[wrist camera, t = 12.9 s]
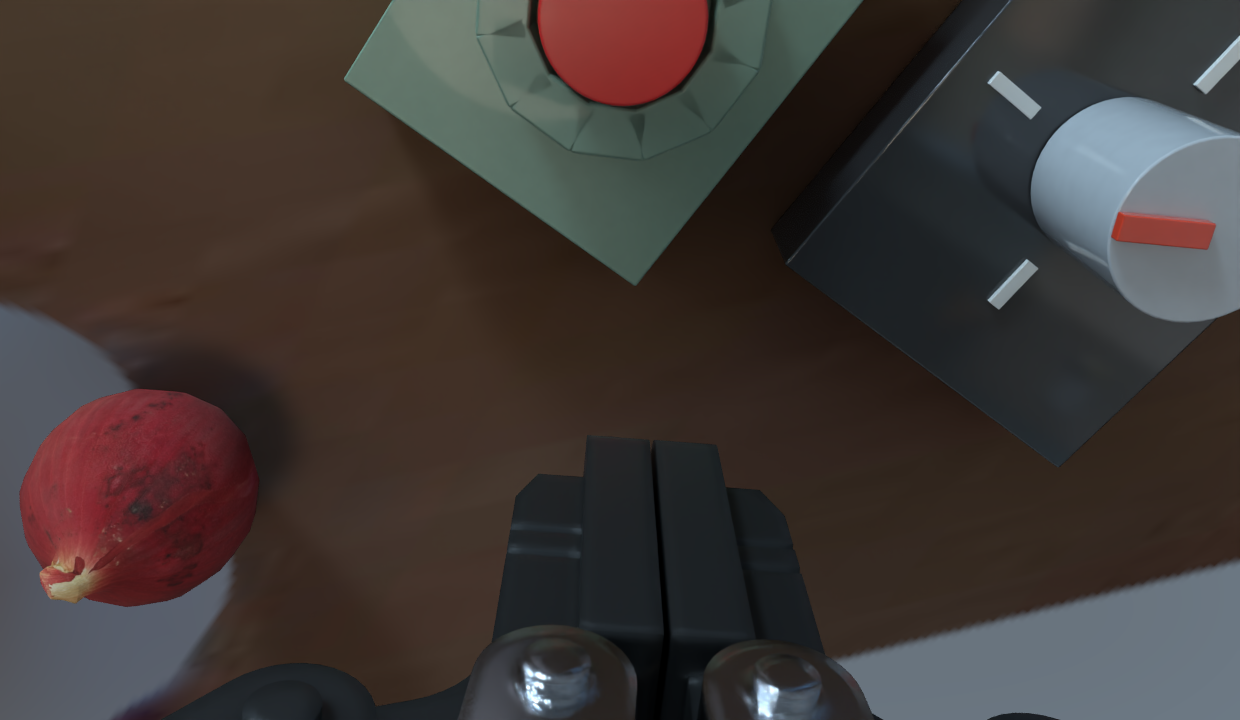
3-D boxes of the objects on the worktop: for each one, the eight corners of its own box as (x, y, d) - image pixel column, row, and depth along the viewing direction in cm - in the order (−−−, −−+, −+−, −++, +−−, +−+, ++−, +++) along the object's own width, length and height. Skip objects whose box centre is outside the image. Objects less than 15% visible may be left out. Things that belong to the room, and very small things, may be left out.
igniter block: (635, 261, 29) (635, 311, 26) (363, 67, 27) (322, 92, 23) (899, -75, 26) (943, -71, 22) (609, -329, 24) (607, -372, 20)
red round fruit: (197, 309, 30) (57, 439, 23) (330, 449, 32) (241, 612, 25) (62, 412, 31) (-110, 566, 24) (197, 541, 33) (75, 720, 26)
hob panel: (1021, 419, 31) (1060, 472, 28) (769, 230, 29) (785, 266, 26) (1379, 68, 27) (1469, 87, 24) (1118, -188, 25) (1184, -201, 22)
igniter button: (638, 124, 24) (639, 139, 23) (512, 29, 23) (503, 38, 22) (735, -6, 23) (744, 1, 21) (606, -111, 22) (604, -112, 20)
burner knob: (1219, 105, 24) (1348, 149, 20) (1166, 264, 26) (1276, 337, 22) (1054, 88, 24) (1148, 129, 20) (1012, 249, 26) (1090, 319, 21)
